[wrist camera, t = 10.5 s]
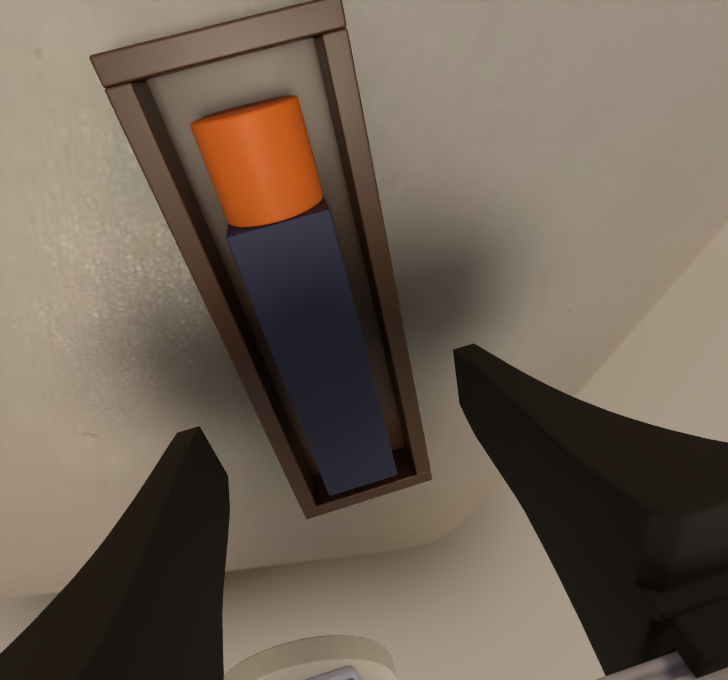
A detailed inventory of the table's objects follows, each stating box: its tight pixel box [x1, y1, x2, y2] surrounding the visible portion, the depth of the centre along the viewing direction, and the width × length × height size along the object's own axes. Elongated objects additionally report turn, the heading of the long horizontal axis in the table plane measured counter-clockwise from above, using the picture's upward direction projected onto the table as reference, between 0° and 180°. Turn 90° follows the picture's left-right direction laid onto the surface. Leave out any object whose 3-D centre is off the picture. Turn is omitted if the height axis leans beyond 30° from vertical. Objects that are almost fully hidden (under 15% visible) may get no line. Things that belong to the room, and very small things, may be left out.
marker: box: [190, 95, 397, 496], centre depth 14 cm, size 12×3×3 cm, turn 12°
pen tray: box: [90, 0, 432, 519], centre depth 15 cm, size 16×5×2 cm, turn 12°
